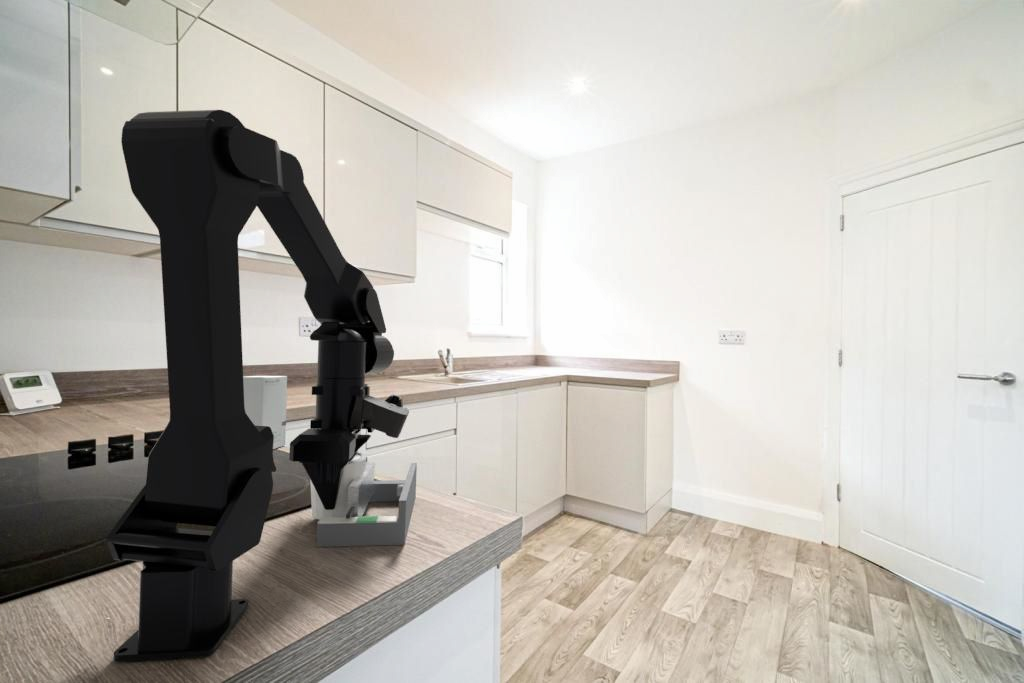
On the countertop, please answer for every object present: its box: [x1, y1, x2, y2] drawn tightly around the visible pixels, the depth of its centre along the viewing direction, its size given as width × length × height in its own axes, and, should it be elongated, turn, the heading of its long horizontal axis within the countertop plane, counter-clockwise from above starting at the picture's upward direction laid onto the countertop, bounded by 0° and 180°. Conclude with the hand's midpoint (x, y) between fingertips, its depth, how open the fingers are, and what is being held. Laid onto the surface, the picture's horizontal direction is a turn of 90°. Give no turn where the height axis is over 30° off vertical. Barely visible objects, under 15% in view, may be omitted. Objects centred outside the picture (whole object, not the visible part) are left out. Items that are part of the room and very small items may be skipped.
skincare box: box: [243, 375, 288, 450], centre depth 91 cm, size 8×6×15 cm
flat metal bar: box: [346, 461, 376, 519], centre depth 57 cm, size 13×1×4 cm, turn 8°
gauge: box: [316, 462, 418, 548], centre depth 58 cm, size 16×10×5 cm, turn 8°
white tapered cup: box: [309, 452, 367, 521], centre depth 57 cm, size 7×7×7 cm
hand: (336, 499), depth 57 cm, fingers closed on white tapered cup, 6 cm apart
